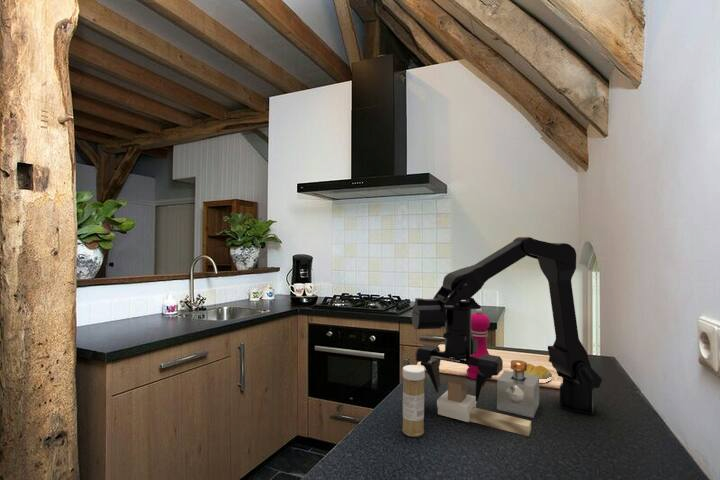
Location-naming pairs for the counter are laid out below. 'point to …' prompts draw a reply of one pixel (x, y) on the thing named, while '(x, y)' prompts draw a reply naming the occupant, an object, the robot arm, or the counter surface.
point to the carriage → (456, 401)
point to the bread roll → (538, 371)
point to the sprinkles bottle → (413, 400)
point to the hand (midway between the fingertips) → (457, 396)
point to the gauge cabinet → (518, 394)
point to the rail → (500, 421)
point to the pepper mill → (478, 338)
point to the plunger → (518, 369)
